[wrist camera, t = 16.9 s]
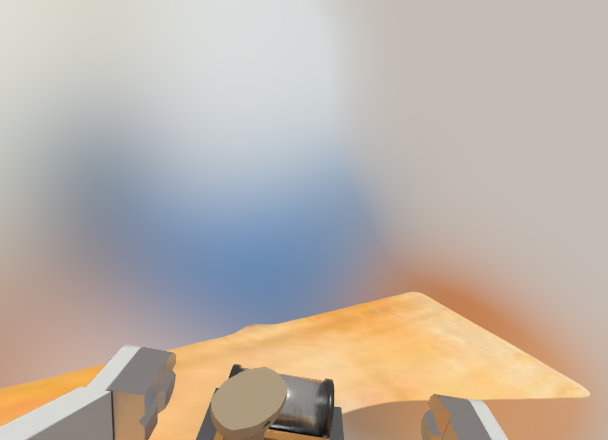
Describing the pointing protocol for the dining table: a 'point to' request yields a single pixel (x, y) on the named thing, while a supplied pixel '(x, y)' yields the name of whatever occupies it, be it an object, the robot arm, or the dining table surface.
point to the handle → (248, 404)
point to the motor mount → (295, 412)
